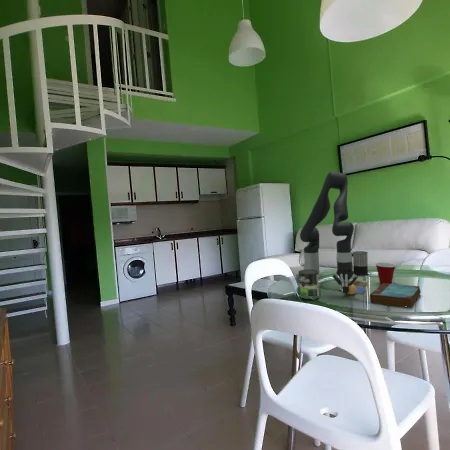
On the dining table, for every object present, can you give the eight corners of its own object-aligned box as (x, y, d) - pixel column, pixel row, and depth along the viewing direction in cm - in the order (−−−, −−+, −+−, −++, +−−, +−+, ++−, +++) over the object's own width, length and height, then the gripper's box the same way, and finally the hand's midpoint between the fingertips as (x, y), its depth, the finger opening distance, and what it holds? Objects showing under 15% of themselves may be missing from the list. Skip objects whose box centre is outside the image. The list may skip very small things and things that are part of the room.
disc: (335, 292, 179) (335, 291, 179) (343, 285, 190) (343, 285, 190) (362, 294, 171) (362, 294, 171) (368, 288, 182) (368, 287, 182)
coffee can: (311, 301, 166) (310, 274, 165) (295, 297, 174) (294, 271, 173) (323, 296, 172) (322, 270, 171) (308, 293, 181) (306, 268, 180)
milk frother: (370, 273, 214) (369, 251, 213) (362, 279, 202) (361, 255, 201) (348, 271, 223) (348, 250, 222) (340, 276, 211) (339, 254, 210)
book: (383, 291, 176) (383, 282, 175) (420, 296, 164) (420, 286, 164) (370, 303, 158) (369, 293, 158) (411, 309, 147) (410, 298, 147)
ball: (343, 282, 172) (348, 280, 177) (341, 293, 173) (345, 291, 178) (354, 286, 168) (359, 284, 173) (352, 297, 169) (356, 295, 174)
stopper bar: (348, 284, 192) (348, 280, 191) (349, 283, 193) (349, 279, 193) (366, 286, 186) (366, 282, 186) (367, 285, 187) (366, 281, 187)
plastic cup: (399, 286, 180) (398, 265, 180) (378, 287, 183) (377, 266, 182) (393, 281, 191) (392, 261, 190) (373, 282, 193) (373, 262, 192)
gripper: (359, 259, 168) (361, 292, 169) (334, 258, 176) (335, 290, 177) (355, 262, 162) (357, 296, 163) (329, 261, 170) (331, 293, 171)
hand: (345, 293), depth 170 cm, fingers closed
